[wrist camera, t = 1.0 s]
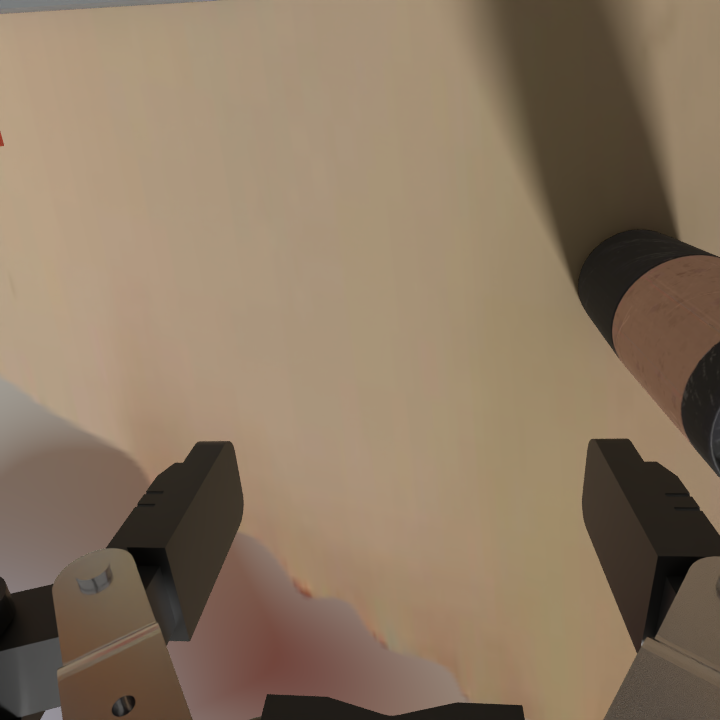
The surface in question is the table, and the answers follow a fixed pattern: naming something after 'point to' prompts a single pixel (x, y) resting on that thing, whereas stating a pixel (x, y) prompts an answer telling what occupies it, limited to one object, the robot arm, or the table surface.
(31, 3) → the valve stand
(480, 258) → the table surface
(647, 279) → the travel mug
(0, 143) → the lever
